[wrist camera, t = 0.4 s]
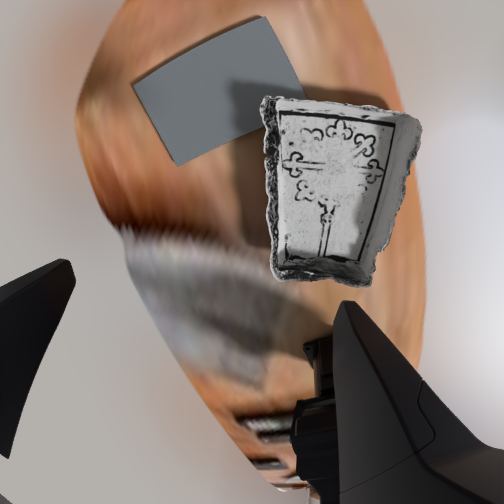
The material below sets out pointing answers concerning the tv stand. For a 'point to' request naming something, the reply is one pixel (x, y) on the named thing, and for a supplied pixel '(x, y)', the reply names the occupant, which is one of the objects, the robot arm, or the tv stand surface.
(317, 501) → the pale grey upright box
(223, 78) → the mat
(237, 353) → the tv stand surface
